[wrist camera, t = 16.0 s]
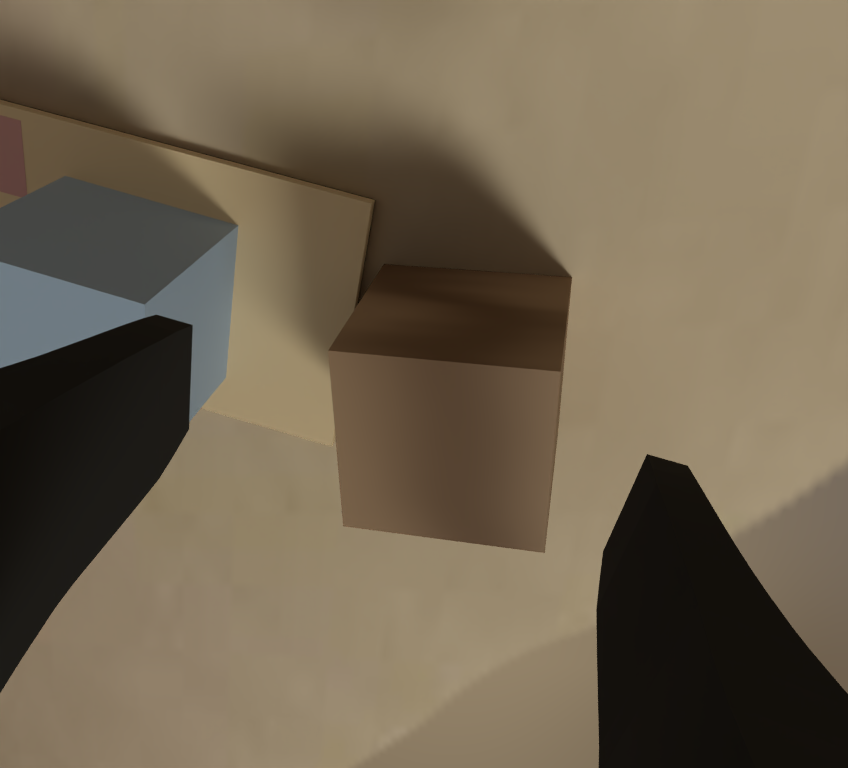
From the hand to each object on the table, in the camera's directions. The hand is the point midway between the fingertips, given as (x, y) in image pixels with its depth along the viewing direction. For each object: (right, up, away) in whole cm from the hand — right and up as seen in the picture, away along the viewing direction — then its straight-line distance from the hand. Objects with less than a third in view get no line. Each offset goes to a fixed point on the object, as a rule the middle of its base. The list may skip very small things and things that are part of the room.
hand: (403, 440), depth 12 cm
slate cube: (-8, +4, +10) cm, 13 cm away
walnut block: (+2, +2, +10) cm, 10 cm away
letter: (-7, +4, +11) cm, 14 cm away
